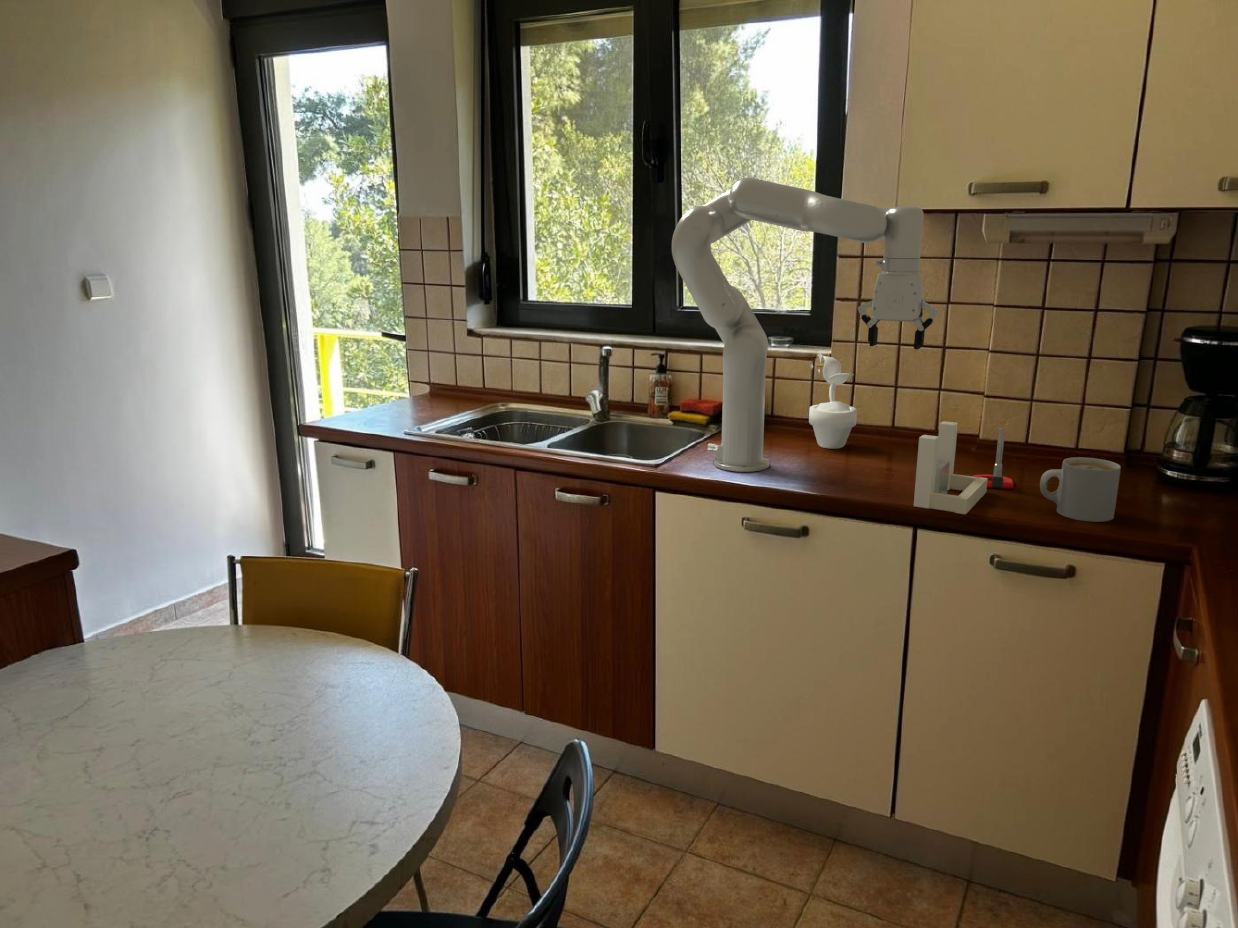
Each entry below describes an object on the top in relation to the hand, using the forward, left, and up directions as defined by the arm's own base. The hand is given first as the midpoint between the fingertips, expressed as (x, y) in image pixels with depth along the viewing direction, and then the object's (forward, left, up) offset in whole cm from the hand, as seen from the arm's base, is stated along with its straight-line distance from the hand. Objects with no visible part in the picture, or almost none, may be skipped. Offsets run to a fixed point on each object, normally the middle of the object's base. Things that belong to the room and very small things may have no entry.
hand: (894, 347), depth 200 cm
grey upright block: (+14, -13, -28) cm, 34 cm away
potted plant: (-19, +17, -28) cm, 38 cm away
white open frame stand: (+18, -13, -28) cm, 36 cm away
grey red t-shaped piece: (+22, +4, -29) cm, 36 cm away
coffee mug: (+40, -9, -28) cm, 50 cm away
